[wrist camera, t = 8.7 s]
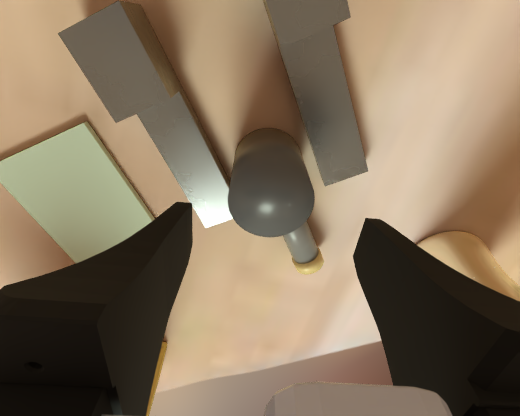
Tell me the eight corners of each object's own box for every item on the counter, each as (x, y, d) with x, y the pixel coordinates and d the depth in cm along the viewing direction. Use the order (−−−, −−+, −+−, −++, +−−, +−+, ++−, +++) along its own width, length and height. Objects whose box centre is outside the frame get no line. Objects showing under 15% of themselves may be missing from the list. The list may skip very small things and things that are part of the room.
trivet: (-9, 165, 18) (-14, 167, 18) (87, 120, 17) (83, 122, 17) (79, 259, 22) (75, 263, 22) (162, 229, 21) (160, 233, 21)
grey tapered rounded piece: (223, 143, 18) (212, 180, 13) (287, 117, 17) (298, 147, 13) (281, 262, 22) (287, 318, 18) (334, 245, 22) (353, 300, 17)
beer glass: (496, 277, 23) (792, 585, 10) (406, 307, 25) (565, 606, 12) (484, 209, 20) (884, 527, 7) (382, 248, 22) (562, 566, 9)
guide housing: (87, 32, 15) (57, 33, 13) (312, -86, 13) (323, -110, 10) (202, 222, 21) (195, 246, 18) (370, 162, 18) (385, 181, 16)
